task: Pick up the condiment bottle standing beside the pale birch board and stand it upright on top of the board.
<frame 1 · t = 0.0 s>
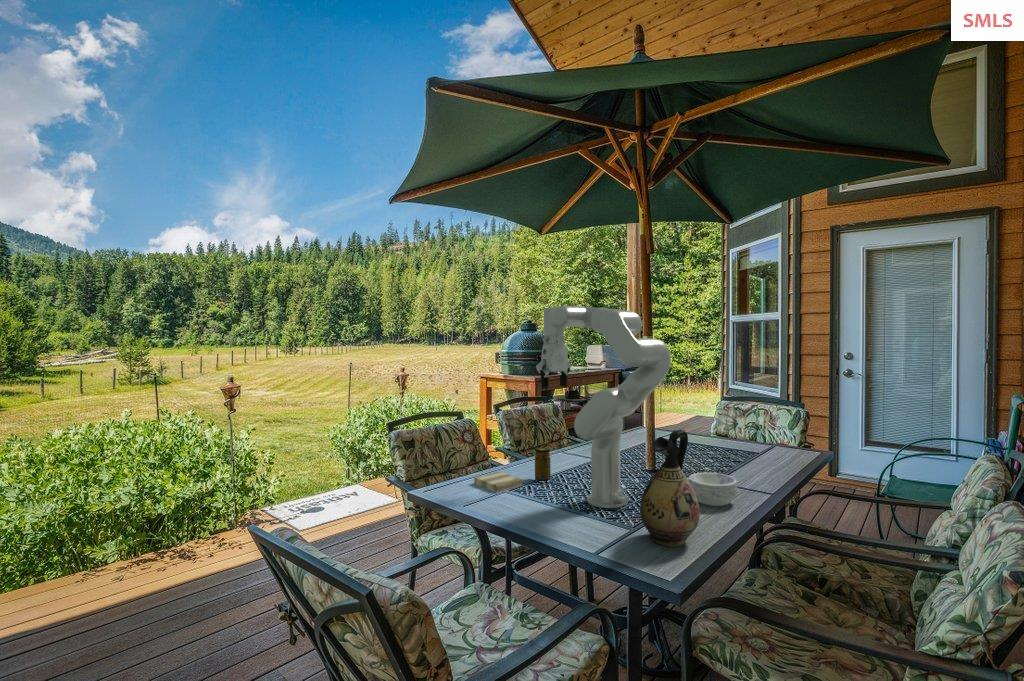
hand: (554, 387, 184), 37 cm above the table, tool pointing down, fingers open, 9 cm apart
white marble bowl: (712, 502, 166), on the table
ceramic jug: (671, 540, 136), on the table
condiment: (544, 480, 192), on the table
board: (498, 484, 186), on the table
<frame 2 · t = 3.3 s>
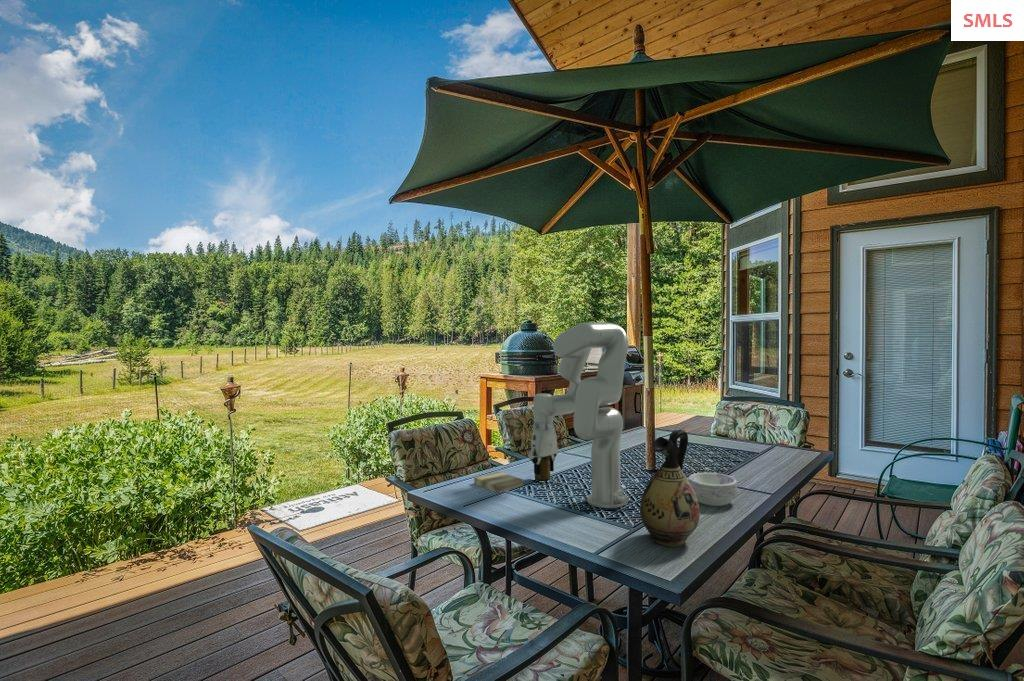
hand: (543, 472, 192), 3 cm above the table, tool pointing down, fingers closed on condiment, 6 cm apart
condiment: (543, 480, 192), on the table, touching gripper
everything else where it was.
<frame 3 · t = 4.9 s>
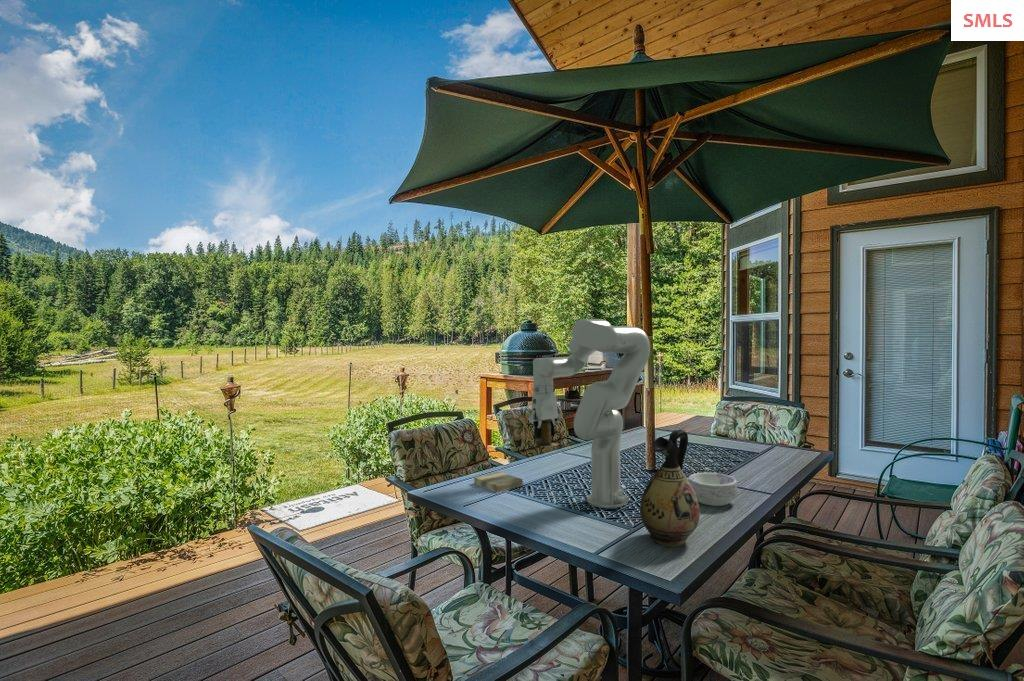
hand: (544, 436, 191), 17 cm above the table, tool pointing down, fingers closed on condiment, 6 cm apart
condiment: (544, 445, 191), point 14 cm above the table, touching gripper
everything else where it was.
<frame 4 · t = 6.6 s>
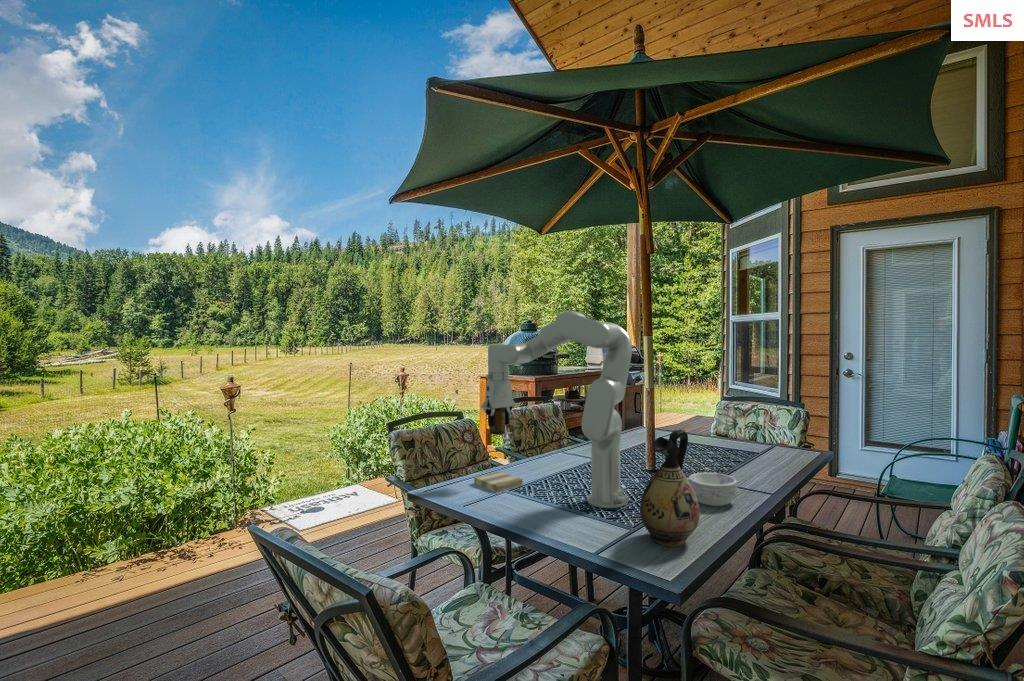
hand: (498, 424, 186), 23 cm above the table, tool pointing down, fingers closed on condiment, 6 cm apart
condiment: (498, 433, 186), point 19 cm above the table, touching gripper
everything else where it was.
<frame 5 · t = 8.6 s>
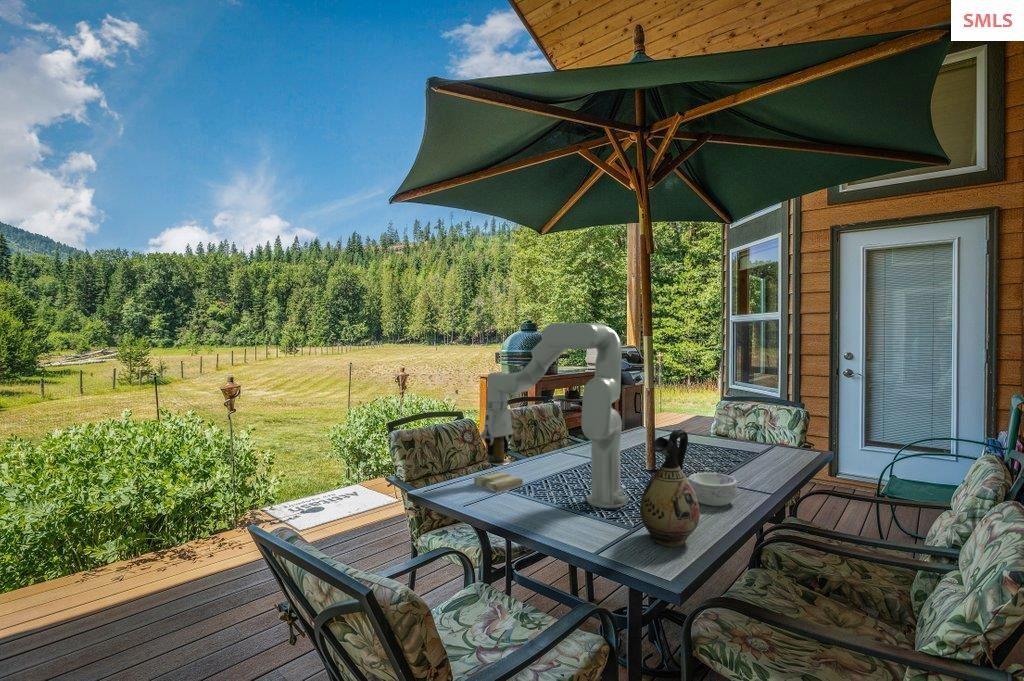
hand: (497, 453, 186), 12 cm above the table, tool pointing down, fingers closed on condiment, 6 cm apart
condiment: (497, 462, 186), point 9 cm above the table, touching gripper
everything else where it was.
when the fingers open (7 cm above the table, at t = 10.1 s): condiment drops 1 cm, resting on board.
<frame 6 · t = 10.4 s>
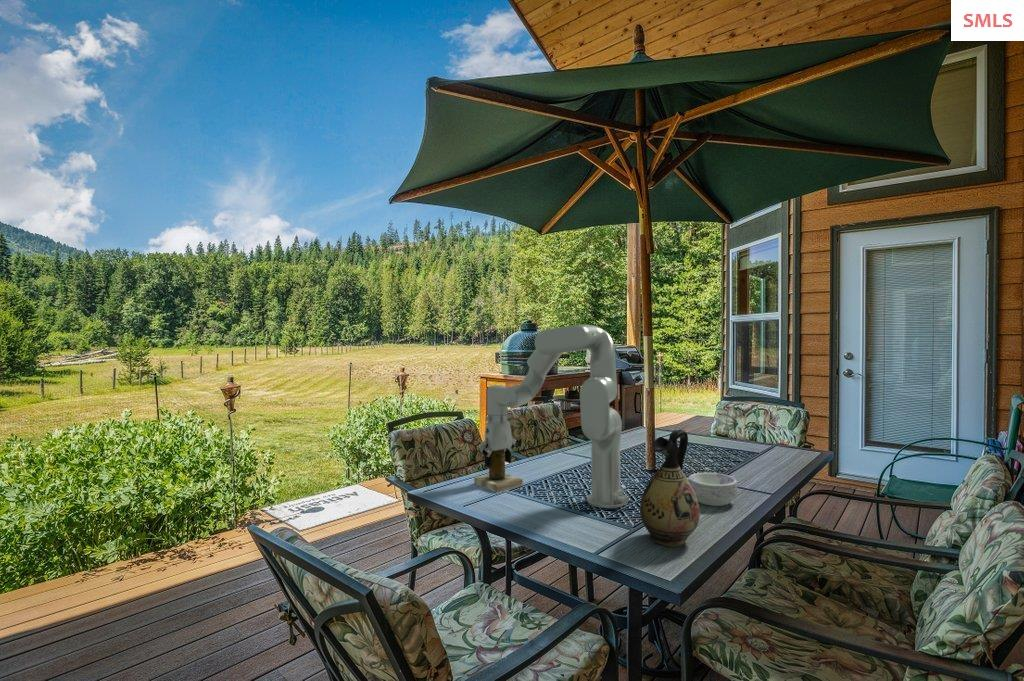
hand: (498, 464, 186), 8 cm above the table, tool pointing down, fingers open, 9 cm apart
condiment: (498, 479, 186), point 2 cm above the table, touching board
everything else where it was.
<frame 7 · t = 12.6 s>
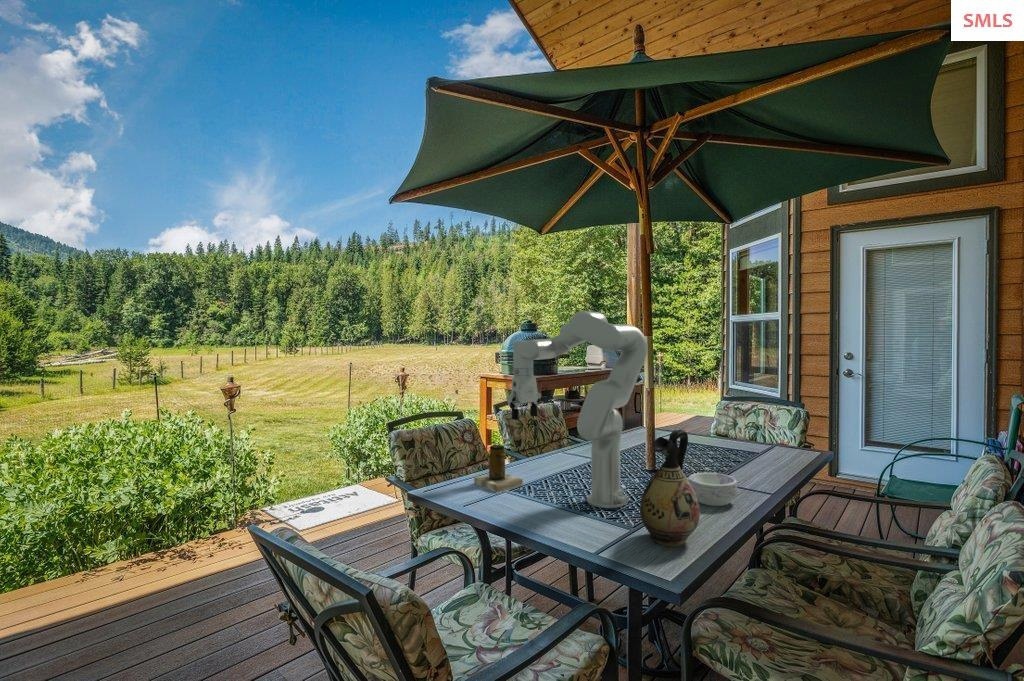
hand: (524, 417, 189), 25 cm above the table, tool pointing down, fingers open, 9 cm apart
nothing on the table moved.
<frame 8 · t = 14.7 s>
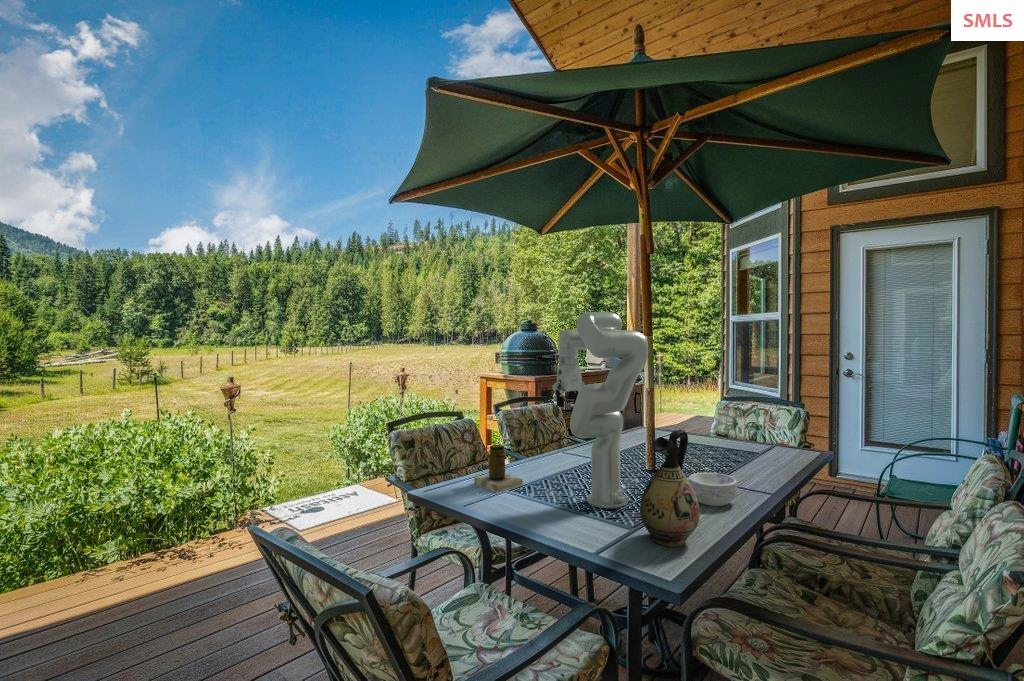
hand: (569, 405, 195), 28 cm above the table, tool pointing down, fingers open, 9 cm apart
nothing on the table moved.
at the end: condiment inside the target area on the board (0.2 cm from its centre), point 2.3 cm above the board's base; condiment tilted 0°; the gripper is holding nothing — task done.
